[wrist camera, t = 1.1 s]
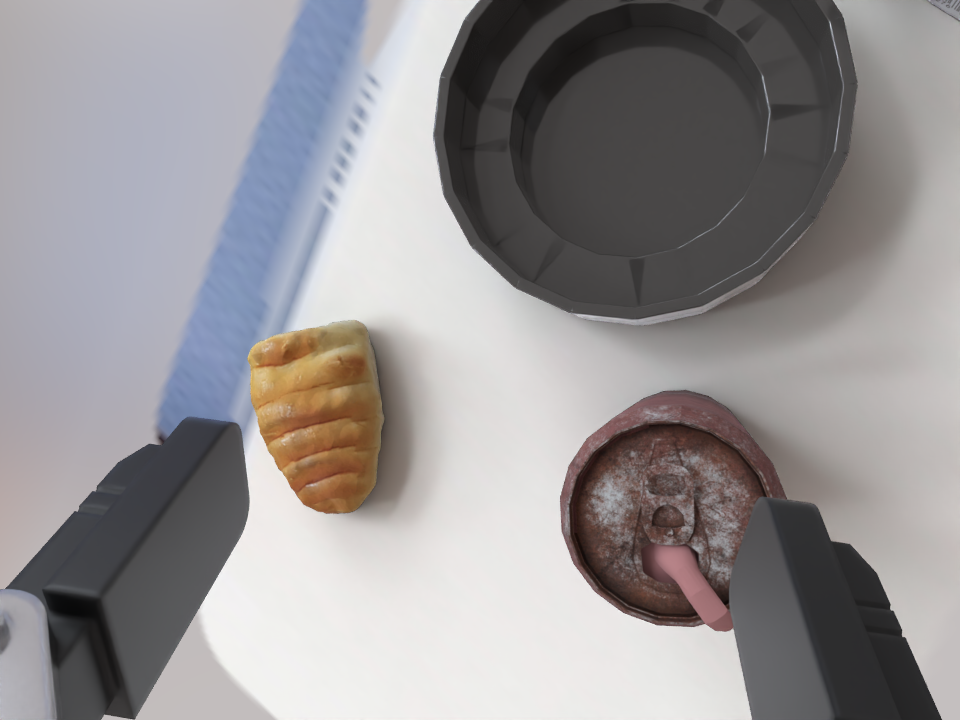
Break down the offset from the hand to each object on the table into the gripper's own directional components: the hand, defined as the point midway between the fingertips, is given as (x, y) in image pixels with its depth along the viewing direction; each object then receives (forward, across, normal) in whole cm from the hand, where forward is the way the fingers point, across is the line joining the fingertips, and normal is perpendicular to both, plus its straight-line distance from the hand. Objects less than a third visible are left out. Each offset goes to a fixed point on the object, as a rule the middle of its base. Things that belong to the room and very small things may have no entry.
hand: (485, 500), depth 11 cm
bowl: (+26, -4, +1) cm, 26 cm away
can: (+18, -8, +12) cm, 23 cm away
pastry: (+21, +9, +14) cm, 27 cm away
